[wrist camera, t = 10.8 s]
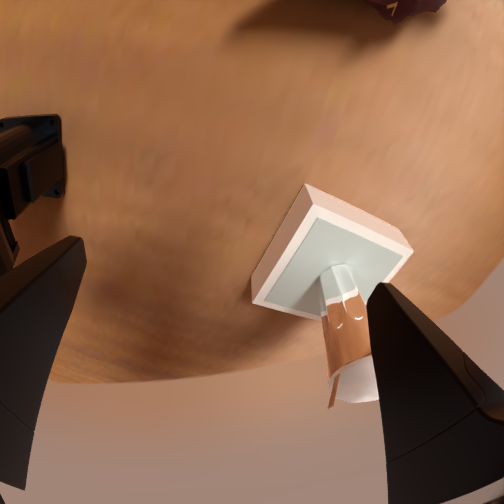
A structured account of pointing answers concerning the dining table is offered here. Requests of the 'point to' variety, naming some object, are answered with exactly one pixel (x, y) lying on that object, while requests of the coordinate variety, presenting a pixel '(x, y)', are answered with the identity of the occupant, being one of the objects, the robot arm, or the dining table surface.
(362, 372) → the milkshake
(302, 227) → the tile base
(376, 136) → the dining table surface
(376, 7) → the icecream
